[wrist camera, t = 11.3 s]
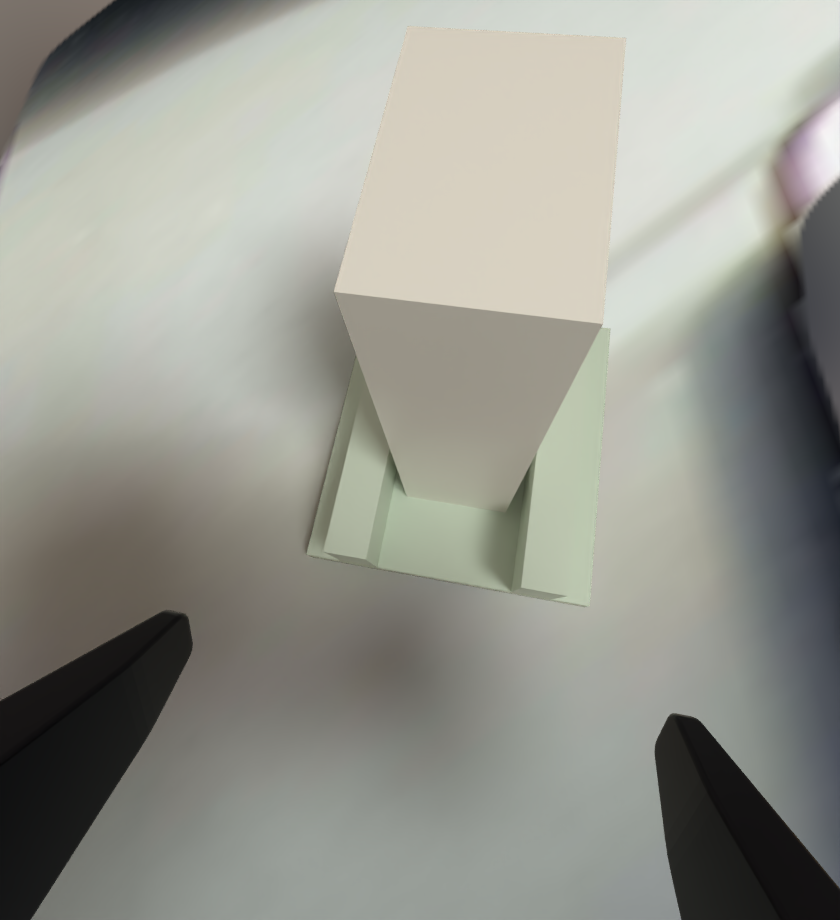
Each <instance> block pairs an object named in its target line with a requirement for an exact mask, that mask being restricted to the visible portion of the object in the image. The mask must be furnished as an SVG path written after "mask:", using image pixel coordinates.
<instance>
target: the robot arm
mask: <svg viewBox="0 0 840 920" xmlns="http://www.w3.org/2000/svg"><path fill="white" fill-rule="evenodd" d="M192 645H193V642H192V636H191V631H190V625H189V620H188V617H187V615H186V614H184V613H180V612H175V611H170V610H166V611H162V612H160V613H158V614H157V615H155V616H153V617H151V618H149V619H148V620H146V621H144V622H142V623H140V624H139V625H137V626H135V627H133V628H131V629H129V630H128V631H126V632H124V633H122V634H120V635H119V636H117V637H115V638H113V639H111V640H110V641H108V642H106V643H104V644H102V645H101V646H99V647H97V648H95V649H93V650H92V651H90V652H88V653H86V654H84V655H83V656H81V657H79V658H77V659H75V660H73V661H72V662H70V663H68V664H66V665H64V666H63V667H61V668H59V669H57V670H55V671H54V672H52V673H50V674H48V675H46V676H45V677H43V678H41V679H39V680H37V681H36V682H34V683H32V684H30V685H28V686H26V687H25V688H23V689H21V690H19V691H17V692H16V693H14V694H12V695H10V696H8V697H7V698H5V699H3V700H1V701H0V920H31V919H32V917H33V915H34V914H35V912H36V911H37V909H38V908H39V906H40V904H41V903H42V901H43V900H44V898H45V897H46V895H47V893H48V892H49V890H50V889H51V887H52V886H53V884H54V883H55V881H56V879H57V878H58V876H59V875H60V873H61V872H62V870H63V868H64V867H65V865H66V864H67V862H68V861H69V859H70V858H71V856H72V854H73V853H74V851H75V850H76V848H77V847H78V845H79V843H80V842H81V840H82V839H83V837H84V836H85V834H86V833H87V831H88V829H89V828H90V826H91V825H92V823H93V822H94V820H95V818H96V817H97V815H98V814H99V812H100V811H101V809H102V808H103V806H104V804H105V803H106V801H107V800H108V798H109V797H110V795H111V793H112V792H113V790H114V789H115V787H116V786H117V784H118V782H119V781H120V779H121V778H122V776H123V775H124V773H125V772H126V770H127V768H128V767H129V765H130V764H131V762H132V761H133V759H134V757H135V756H136V754H137V753H138V751H139V750H140V748H141V747H142V745H143V743H144V742H145V740H146V738H147V737H148V735H149V733H150V732H151V730H152V728H153V726H154V724H155V723H156V721H157V719H158V717H159V715H160V713H161V711H162V709H163V707H164V705H165V703H166V701H167V699H168V697H169V695H170V694H171V692H172V690H173V688H174V686H175V684H176V682H177V680H178V678H179V676H180V674H181V672H182V670H183V668H184V666H185V664H186V663H187V661H188V659H189V657H190V654H191V651H192ZM655 761H656V769H657V777H658V786H659V794H660V802H661V810H662V818H663V826H664V834H665V842H666V849H667V855H668V860H669V865H670V870H671V875H672V880H673V884H674V889H675V893H676V898H677V902H678V907H679V911H680V916H681V920H840V888H839V887H838V886H837V885H836V883H835V882H834V881H833V880H832V879H831V877H830V876H829V875H828V874H827V873H826V871H825V870H824V869H823V868H822V867H821V865H820V864H819V863H818V862H817V861H816V859H815V858H814V857H813V856H812V855H811V853H810V852H809V851H808V850H807V849H806V847H805V846H804V845H803V844H802V843H801V841H800V840H799V839H798V838H797V837H796V835H795V834H794V833H793V832H792V831H791V829H790V828H789V827H788V826H787V825H786V823H785V822H784V821H783V820H782V819H781V817H780V816H779V815H778V814H777V813H776V811H775V810H774V809H773V808H772V807H771V805H770V804H769V803H768V802H767V801H766V799H765V798H764V797H763V796H762V795H761V793H760V792H759V791H758V790H757V789H756V787H755V786H754V785H753V784H752V783H751V781H750V780H749V779H748V778H747V777H746V775H745V774H744V773H743V772H742V771H741V769H740V768H739V767H738V766H737V765H736V763H735V762H734V761H733V760H732V759H731V757H730V756H729V755H728V754H727V753H726V751H725V750H724V749H723V748H722V747H721V745H720V744H719V743H718V742H717V741H716V739H715V738H714V737H713V736H712V735H711V733H710V732H709V731H708V730H707V729H706V727H705V726H704V725H703V724H702V723H701V722H700V721H699V720H698V719H696V718H694V717H691V716H686V715H681V714H676V713H673V714H671V715H669V717H668V718H667V720H666V722H665V724H664V726H663V728H662V730H661V732H660V734H659V736H658V738H657V741H656V744H655Z"/></svg>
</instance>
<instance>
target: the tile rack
mask: <svg viewBox="0 0 840 920" xmlns="http://www.w3.org/2000/svg"><path fill="white" fill-rule="evenodd" d="M609 340H610V329H608V328H601V329H600V331H599V332H598V334H597V336H596V338H595V340H594V342H593V344H592V346H591V348H590V350H589V352H588V354H587V356H586V358H585V360H584V362H583V363H582V365H581V367H580V369H579V371H578V373H577V375H576V377H575V379H574V381H573V383H572V385H571V387H570V389H569V391H568V393H567V394H566V396H565V398H564V400H563V402H562V404H561V406H560V408H559V410H558V412H557V414H556V416H555V418H554V420H553V422H552V423H551V425H550V427H549V429H548V431H547V433H546V435H545V437H544V439H543V441H542V443H541V445H540V447H539V449H538V451H537V453H536V454H535V456H534V458H533V460H532V462H531V464H530V466H529V468H528V470H527V472H526V474H525V476H524V478H523V480H522V482H521V484H520V485H519V487H518V489H517V491H516V493H515V495H514V497H513V499H512V501H511V503H510V505H509V507H508V509H507V511H506V513H504V512H498V511H492V510H486V509H480V508H474V507H468V506H462V505H456V504H450V503H444V502H438V501H432V500H426V499H420V498H414V497H408V496H407V495H406V492H405V490H404V487H403V484H402V481H401V478H400V476H399V473H398V470H397V467H396V465H395V462H394V459H393V456H392V453H391V451H390V448H389V445H388V442H387V439H386V437H385V434H384V431H383V428H382V425H381V423H380V420H379V417H378V414H377V411H376V409H375V406H374V403H373V400H372V398H371V395H370V392H369V389H368V386H367V384H366V381H365V378H364V375H363V372H362V370H361V367H360V364H359V361H358V358H357V356H356V358H355V362H354V366H353V370H352V374H351V378H350V382H349V386H348V390H347V394H346V398H345V402H344V406H343V410H342V414H341V418H340V422H339V426H338V430H337V434H336V438H335V442H334V446H333V450H332V454H331V458H330V462H329V466H328V470H327V474H326V478H325V482H324V486H323V490H322V494H321V498H320V502H319V506H318V510H317V514H316V518H315V522H314V526H313V530H312V534H311V538H310V542H309V546H308V549H307V553H306V555H309V556H311V557H315V558H321V559H326V560H331V561H337V562H342V563H348V564H353V565H359V566H364V567H370V568H375V569H381V570H386V571H391V572H397V573H402V574H408V575H413V576H419V577H424V578H430V579H435V580H440V581H446V582H451V583H457V584H462V585H468V586H473V587H479V588H484V589H489V590H495V591H500V592H506V593H511V594H517V595H522V596H528V597H533V598H539V599H544V600H549V601H555V602H560V603H566V604H571V605H577V606H582V607H588V606H590V594H591V581H592V568H593V554H594V541H595V527H596V514H597V501H598V487H599V474H600V461H601V447H602V434H603V420H604V407H605V394H606V380H607V367H608V353H609Z"/></svg>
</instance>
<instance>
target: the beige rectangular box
mask: <svg viewBox="0 0 840 920" xmlns="http://www.w3.org/2000/svg"><path fill="white" fill-rule="evenodd" d="M625 45H626V38H617V37H598V36H580V35H561V34H543V33H524V32H506V31H487V30H469V29H451V28H432V27H414V26H408V27H407V31H406V35H405V38H404V42H403V45H402V49H401V52H400V56H399V60H398V63H397V67H396V70H395V74H394V78H393V81H392V85H391V88H390V92H389V95H388V99H387V103H386V106H385V110H384V113H383V117H382V121H381V124H380V128H379V131H378V135H377V138H376V142H375V146H374V149H373V153H372V156H371V160H370V164H369V167H368V171H367V174H366V178H365V181H364V185H363V189H362V192H361V196H360V199H359V203H358V206H357V210H356V214H355V217H354V221H353V224H352V228H351V232H350V235H349V239H348V242H347V246H346V249H345V253H344V257H343V260H342V264H341V267H340V271H339V275H338V278H337V282H336V285H335V289H334V294H335V297H336V300H337V303H338V305H339V308H340V311H341V314H342V317H343V319H344V322H345V325H346V328H347V331H348V333H349V336H350V339H351V342H352V344H353V347H354V350H355V353H356V356H357V358H358V361H359V364H360V367H361V370H362V372H363V375H364V378H365V381H366V384H367V386H368V389H369V392H370V395H371V398H372V400H373V403H374V406H375V409H376V411H377V414H378V417H379V420H380V423H381V425H382V428H383V431H384V434H385V437H386V439H387V442H388V445H389V448H390V451H391V453H392V456H393V459H394V462H395V465H396V467H397V470H398V473H399V476H400V478H401V481H402V484H403V487H404V490H405V492H406V495H407V496H408V497H414V498H420V499H426V500H432V501H438V502H444V503H450V504H456V505H462V506H468V507H474V508H480V509H486V510H492V511H498V512H504V513H506V511H507V509H508V507H509V505H510V503H511V501H512V499H513V497H514V495H515V493H516V491H517V489H518V487H519V485H520V484H521V482H522V480H523V478H524V476H525V474H526V472H527V470H528V468H529V466H530V464H531V462H532V460H533V458H534V456H535V454H536V453H537V451H538V449H539V447H540V445H541V443H542V441H543V439H544V437H545V435H546V433H547V431H548V429H549V427H550V425H551V423H552V422H553V420H554V418H555V416H556V414H557V412H558V410H559V408H560V406H561V404H562V402H563V400H564V398H565V396H566V394H567V393H568V391H569V389H570V387H571V385H572V383H573V381H574V379H575V377H576V375H577V373H578V371H579V369H580V367H581V365H582V363H583V362H584V360H585V358H586V356H587V354H588V352H589V350H590V348H591V346H592V344H593V342H594V340H595V338H596V336H597V334H598V332H599V331H600V329H601V327H602V325H603V317H604V304H605V292H606V280H607V267H608V255H609V242H610V230H611V218H612V205H613V193H614V181H615V168H616V156H617V144H618V131H619V119H620V107H621V94H622V82H623V70H624V57H625Z"/></svg>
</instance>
